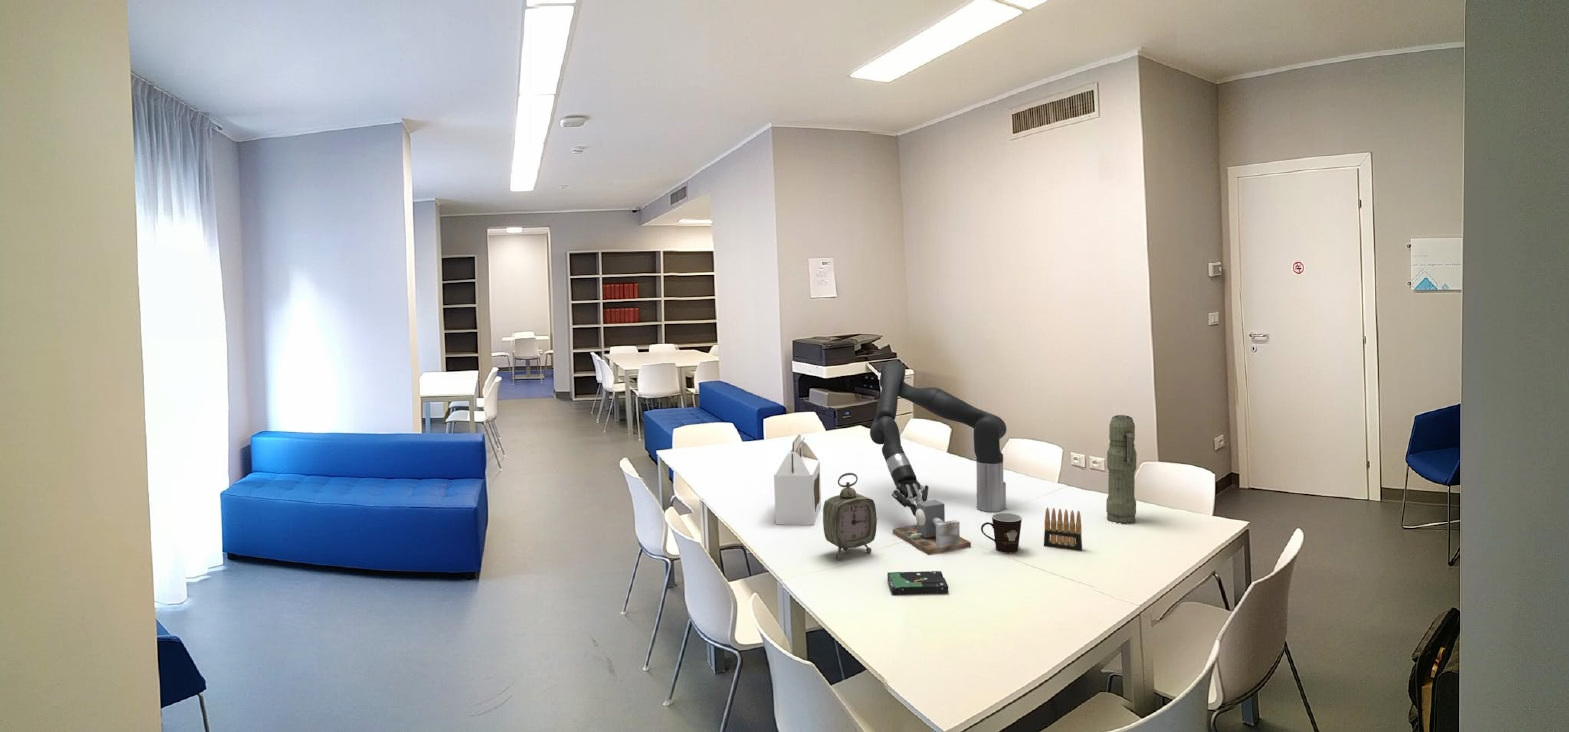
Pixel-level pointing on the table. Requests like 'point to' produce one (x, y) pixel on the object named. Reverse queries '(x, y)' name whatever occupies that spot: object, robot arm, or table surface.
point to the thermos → (1121, 470)
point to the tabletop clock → (849, 519)
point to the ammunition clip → (1063, 531)
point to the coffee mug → (1005, 531)
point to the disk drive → (917, 583)
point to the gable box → (798, 487)
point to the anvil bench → (935, 538)
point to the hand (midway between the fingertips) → (920, 515)
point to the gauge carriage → (929, 517)
